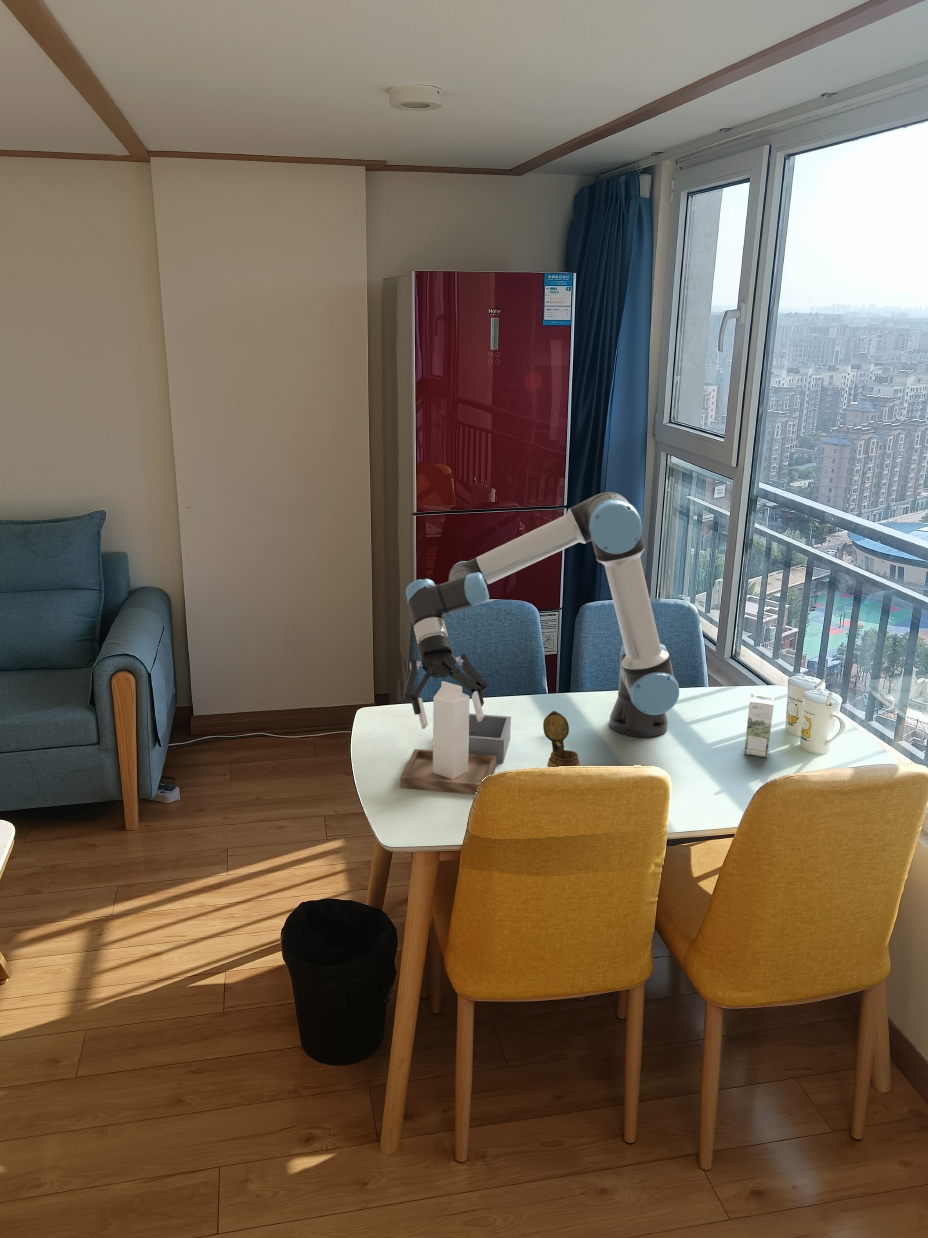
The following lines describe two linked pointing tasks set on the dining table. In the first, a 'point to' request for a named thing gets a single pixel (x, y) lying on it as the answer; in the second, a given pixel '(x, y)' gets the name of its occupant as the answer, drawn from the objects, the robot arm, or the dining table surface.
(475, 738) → the box
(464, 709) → the milk
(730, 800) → the dining table surface
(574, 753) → the wooden mug
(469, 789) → the tray
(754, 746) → the white drink carton
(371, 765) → the dining table surface
